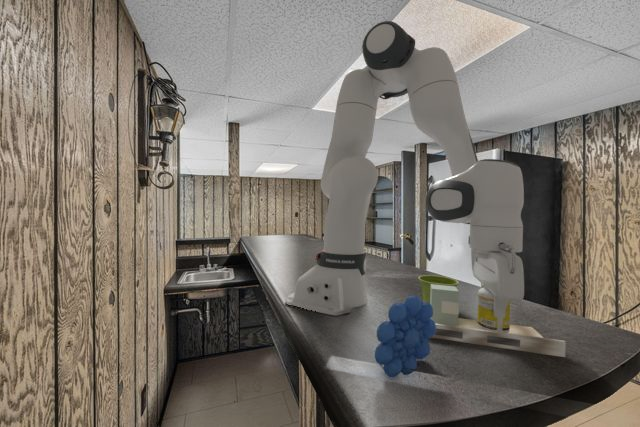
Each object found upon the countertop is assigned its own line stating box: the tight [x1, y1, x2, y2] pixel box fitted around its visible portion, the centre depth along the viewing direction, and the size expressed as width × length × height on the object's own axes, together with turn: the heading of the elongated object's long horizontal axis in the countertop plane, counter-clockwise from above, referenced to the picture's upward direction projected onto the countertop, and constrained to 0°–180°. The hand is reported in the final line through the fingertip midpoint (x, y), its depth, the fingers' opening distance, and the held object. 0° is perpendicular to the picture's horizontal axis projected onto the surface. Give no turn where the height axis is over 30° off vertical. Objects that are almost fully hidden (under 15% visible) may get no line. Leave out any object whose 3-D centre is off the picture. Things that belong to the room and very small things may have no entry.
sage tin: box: [430, 284, 460, 326], centre depth 58 cm, size 4×5×8 cm
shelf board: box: [431, 317, 567, 358], centre depth 56 cm, size 22×13×4 cm, turn 72°
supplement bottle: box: [477, 278, 511, 333], centre depth 55 cm, size 5×5×10 cm
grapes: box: [374, 295, 436, 378], centre depth 44 cm, size 12×7×12 cm, turn 116°
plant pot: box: [418, 274, 460, 303], centre depth 70 cm, size 9×9×9 cm
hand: (493, 310), depth 55 cm, fingers closed on supplement bottle, 5 cm apart
